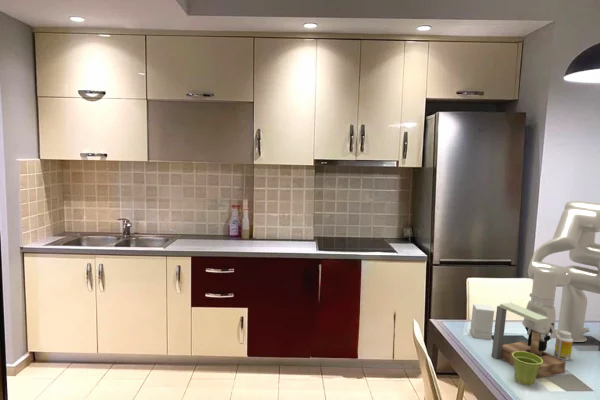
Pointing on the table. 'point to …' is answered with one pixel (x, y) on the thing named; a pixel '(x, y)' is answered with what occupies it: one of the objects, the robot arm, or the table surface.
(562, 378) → the table surface
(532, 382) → the plant pot
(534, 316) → the awning
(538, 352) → the peg
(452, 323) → the table surface
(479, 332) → the supplement box
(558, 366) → the socket block
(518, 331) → the table surface
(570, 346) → the supplement bottle
